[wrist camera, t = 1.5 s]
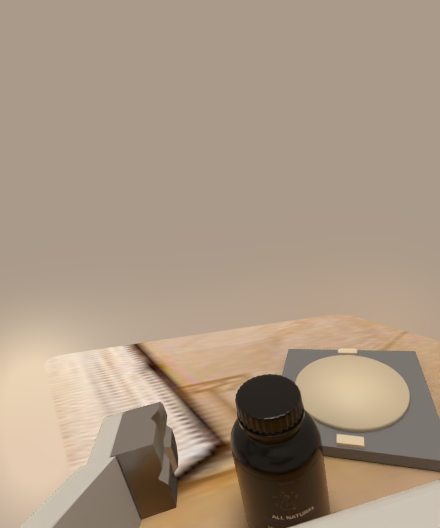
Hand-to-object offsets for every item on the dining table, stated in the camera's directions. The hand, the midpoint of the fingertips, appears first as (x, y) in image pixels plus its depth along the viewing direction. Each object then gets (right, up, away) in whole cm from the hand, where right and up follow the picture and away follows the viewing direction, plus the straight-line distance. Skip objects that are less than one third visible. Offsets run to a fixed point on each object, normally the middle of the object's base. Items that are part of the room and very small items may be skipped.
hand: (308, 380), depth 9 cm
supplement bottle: (+3, -18, +18) cm, 25 cm away
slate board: (+12, -12, +28) cm, 33 cm away
